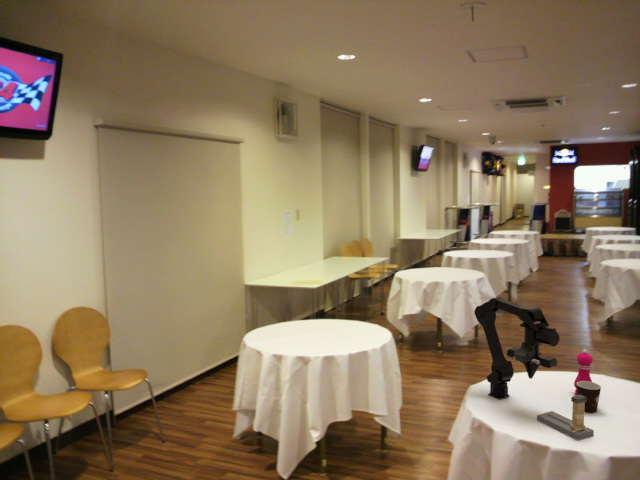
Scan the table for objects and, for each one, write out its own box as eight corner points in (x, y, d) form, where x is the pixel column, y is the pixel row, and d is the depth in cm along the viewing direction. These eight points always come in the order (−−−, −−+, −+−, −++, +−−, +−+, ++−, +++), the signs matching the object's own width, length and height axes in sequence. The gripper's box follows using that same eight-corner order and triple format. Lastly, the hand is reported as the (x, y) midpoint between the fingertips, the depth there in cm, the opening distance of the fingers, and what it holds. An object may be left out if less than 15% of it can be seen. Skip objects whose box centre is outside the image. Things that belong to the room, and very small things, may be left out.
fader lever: (569, 427, 189) (570, 396, 187) (578, 424, 191) (579, 394, 189) (576, 431, 186) (578, 399, 185) (585, 428, 188) (587, 397, 187)
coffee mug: (586, 415, 204) (587, 390, 203) (570, 406, 212) (571, 382, 211) (611, 411, 207) (612, 387, 206) (594, 403, 215) (595, 379, 214)
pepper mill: (595, 398, 219) (598, 352, 217) (578, 398, 219) (580, 352, 217) (587, 391, 226) (589, 346, 224) (570, 391, 227) (572, 346, 224)
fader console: (536, 420, 200) (536, 414, 200) (551, 415, 203) (551, 410, 203) (577, 440, 184) (578, 434, 184) (593, 435, 187) (593, 430, 187)
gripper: (498, 337, 209) (497, 375, 211) (542, 349, 194) (540, 390, 196) (515, 333, 215) (514, 370, 217) (558, 344, 200) (557, 383, 202)
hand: (530, 378), depth 208 cm, fingers closed
